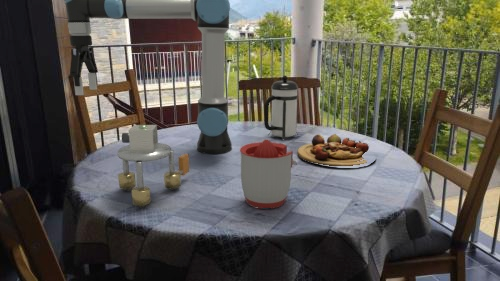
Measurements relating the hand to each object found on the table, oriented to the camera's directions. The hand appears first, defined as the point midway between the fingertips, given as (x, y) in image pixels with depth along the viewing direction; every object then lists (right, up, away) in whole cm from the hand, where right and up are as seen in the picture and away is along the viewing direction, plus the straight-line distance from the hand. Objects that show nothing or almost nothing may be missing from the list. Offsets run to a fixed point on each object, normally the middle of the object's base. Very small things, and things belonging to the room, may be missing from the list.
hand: (86, 92), depth 154 cm
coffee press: (+78, -17, +42) cm, 90 cm away
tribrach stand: (+29, -36, -27) cm, 54 cm away
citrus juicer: (+68, -38, -30) cm, 83 cm away
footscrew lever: (+38, -33, -18) cm, 54 cm away
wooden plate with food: (+98, -26, +14) cm, 103 cm away
